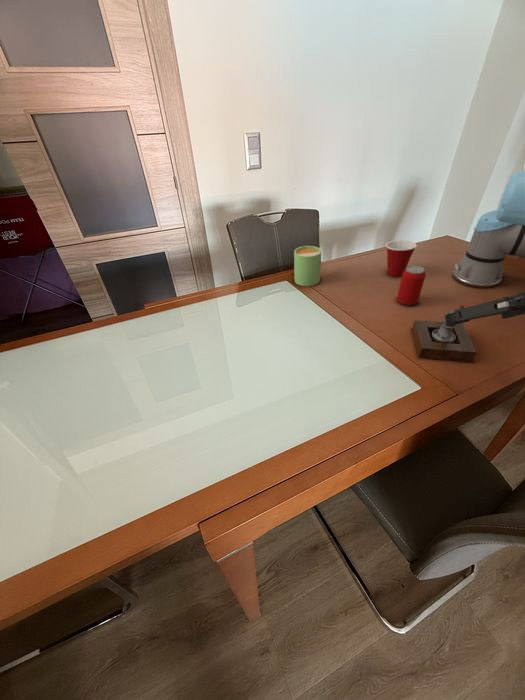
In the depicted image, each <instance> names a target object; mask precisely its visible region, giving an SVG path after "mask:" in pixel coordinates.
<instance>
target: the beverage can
mask: <svg viewBox="0 0 525 700" xmlns="http://www.w3.org/2000/svg"><path fill="white" fill-rule="evenodd" d="M425 279H426V272H425V268H424V267H422V266H421V265H416V264H415V265H412V264H411V265H407V267H406V269H405V271H404V272H403V275H402V276H401V278H400V283H399V288H398V292H397V296H396V300H397V301H398V302H399V303H400V304H402V305H404V306H411V305H416V304H417V303H418V302H419V299H420V295H421V292H422V289H423V286H424V282H425Z"/></svg>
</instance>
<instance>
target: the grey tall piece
mask: <svg viewBox="0 0 525 700" xmlns="http://www.w3.org/2000/svg"><path fill="white" fill-rule="evenodd" d="M455 310H456V309H452V310H450V311H447V312H446V313H445V315H447V314H450V313H453V312H455ZM440 322H441V327H440V329H437V330H434V331H433V332H432V335H433V336H432V339H431V341H432V342H438V343H451V344H452V342H453V341H455V339H456V336H455V334H454V333H452V331H453V328H455V327H456V325H452V326H447V324H446V318H445V317H444V318H443V320H442V321H440Z"/></svg>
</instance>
